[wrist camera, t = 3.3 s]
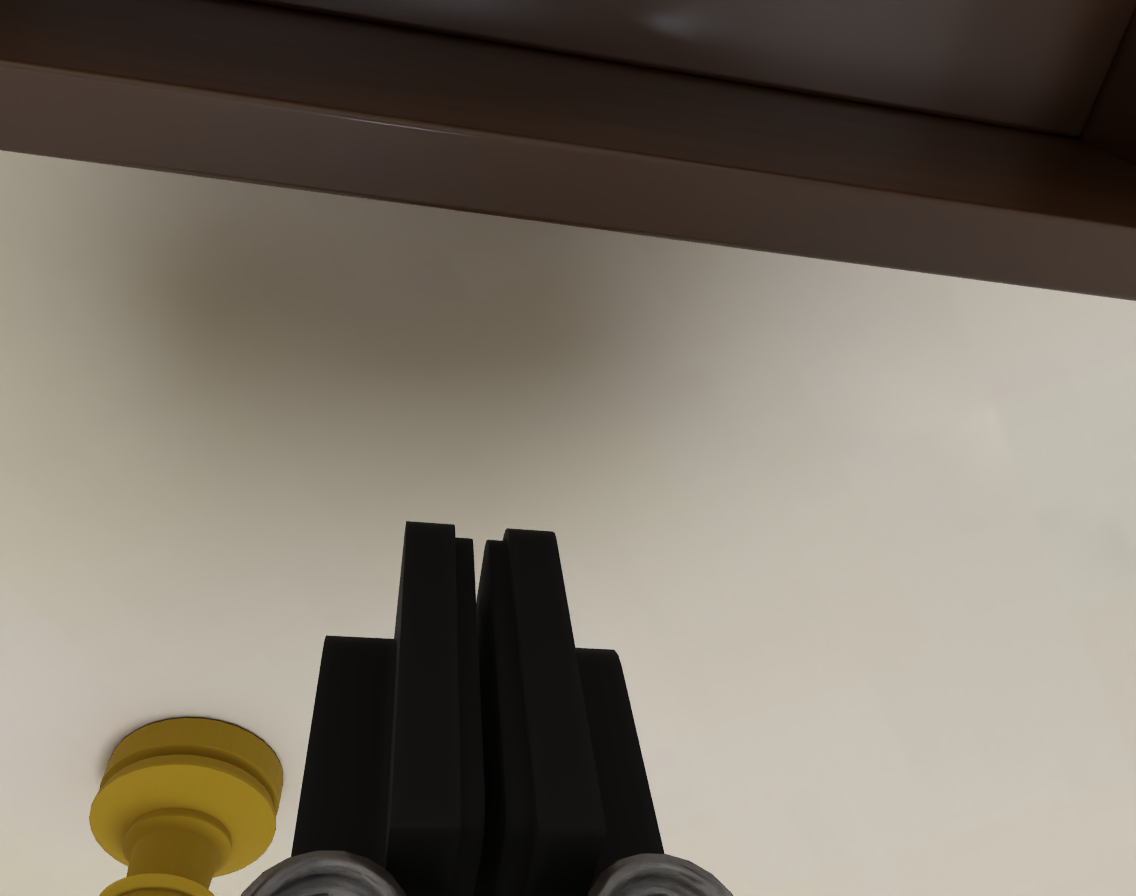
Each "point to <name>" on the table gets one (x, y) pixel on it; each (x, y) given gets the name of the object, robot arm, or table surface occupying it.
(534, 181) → the rack
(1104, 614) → the table surface
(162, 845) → the chess piece
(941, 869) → the table surface
